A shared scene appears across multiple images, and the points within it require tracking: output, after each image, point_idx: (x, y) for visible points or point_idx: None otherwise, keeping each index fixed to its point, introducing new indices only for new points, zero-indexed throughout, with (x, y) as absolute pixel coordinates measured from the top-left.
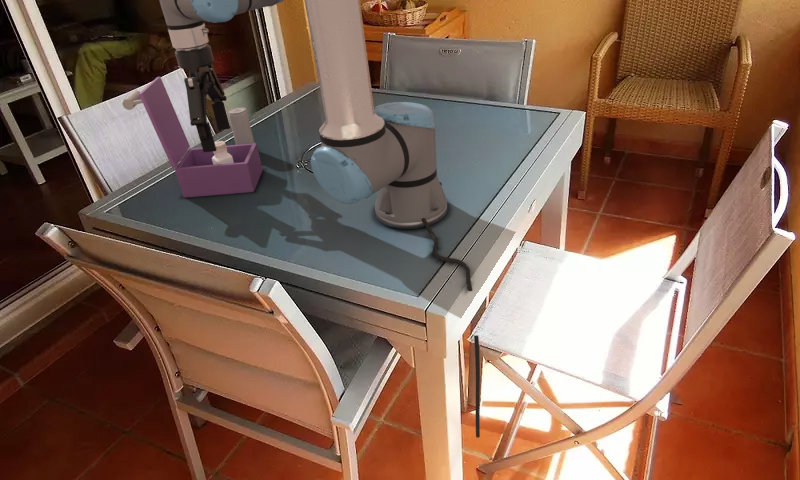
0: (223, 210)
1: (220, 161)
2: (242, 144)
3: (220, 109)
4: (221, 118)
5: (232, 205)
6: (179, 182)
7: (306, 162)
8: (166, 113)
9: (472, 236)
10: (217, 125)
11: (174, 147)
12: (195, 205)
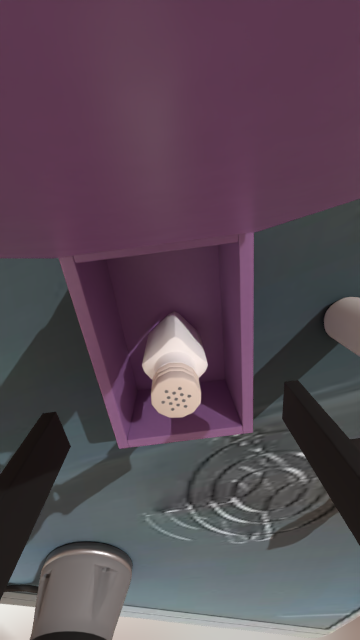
0: (51, 361)
1: (145, 372)
2: (250, 402)
3: (345, 501)
4: (312, 443)
5: (74, 370)
6: None
7: (252, 442)
8: (170, 183)
9: None
10: (295, 395)
11: (94, 247)
12: (61, 292)
